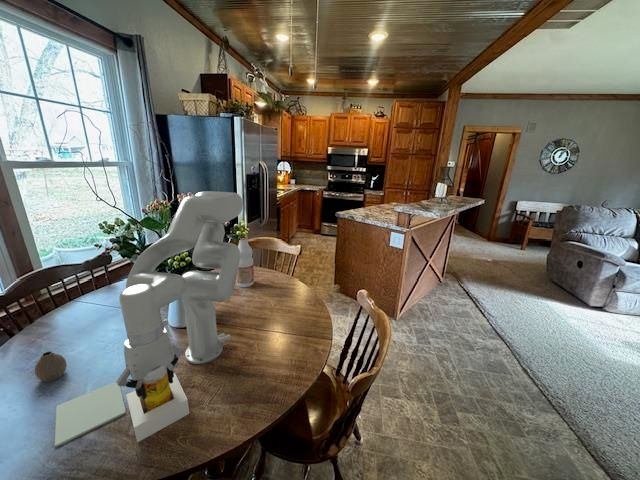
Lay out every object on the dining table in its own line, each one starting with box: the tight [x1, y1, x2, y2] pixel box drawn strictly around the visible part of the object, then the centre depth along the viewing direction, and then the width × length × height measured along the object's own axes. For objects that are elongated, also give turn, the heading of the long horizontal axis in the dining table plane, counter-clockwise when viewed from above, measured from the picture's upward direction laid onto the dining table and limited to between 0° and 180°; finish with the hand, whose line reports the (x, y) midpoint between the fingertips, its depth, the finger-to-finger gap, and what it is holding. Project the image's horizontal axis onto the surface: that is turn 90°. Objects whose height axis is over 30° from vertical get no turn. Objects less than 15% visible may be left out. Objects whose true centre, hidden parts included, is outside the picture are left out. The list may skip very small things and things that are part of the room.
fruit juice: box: [236, 235, 255, 288], centre depth 146 cm, size 9×9×28 cm
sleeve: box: [125, 372, 190, 443], centre depth 73 cm, size 12×12×5 cm
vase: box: [34, 350, 68, 383], centre depth 83 cm, size 7×7×9 cm
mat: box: [54, 380, 126, 448], centre depth 74 cm, size 14×14×1 cm
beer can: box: [142, 365, 172, 413], centre depth 72 cm, size 6×6×15 cm
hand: (156, 387), depth 72 cm, fingers closed on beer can, 6 cm apart
